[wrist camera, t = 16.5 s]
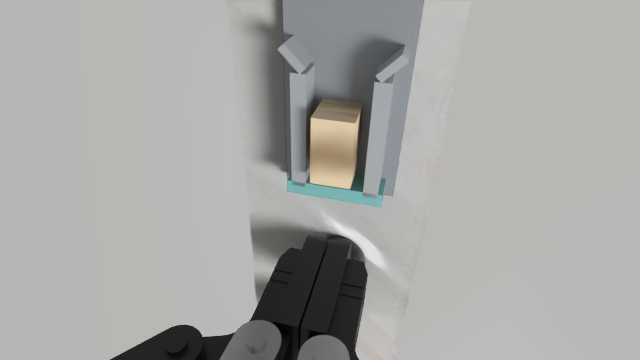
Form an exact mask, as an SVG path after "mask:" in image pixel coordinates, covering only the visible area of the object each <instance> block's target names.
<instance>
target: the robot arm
mask: <svg viewBox="0 0 640 360" xmlns="http://www.w3.org/2000/svg"><path fill="white" fill-rule="evenodd" d="M350 257H351V243H346V242H341V241H335V240H330V241H329V239H324V238H319V237H313V236H308V237H307V239H306V241H305V244H304V246H303V248H302V250H300V249H295V248H290V249H289V250H287V251H286V252H285V253H284V254H283V255H282V256H281V257H280V258H279V260H278V262H277V265H276V267H275V269H274V271H273V273H272V275H271V277H270V281H269V282H268V284H267V286H266V288H265V290H264V293H263V295H262V297H261V299H260V301H259V303H258V305H257V308H256V310H255V312H254V314H253V316H252V318H251V320H250V321H249V322H247V323H245V324H244V325H242V326H241V327H240V328H239V329H238V330H237V331H236V332H235V333H232V334H229V335H223V336H212V337H202V335H201V333H200V332H199V331H198V330H197V329H196V328H194V327H193V326H189V325H178V326H174V327H171V328H169V329H167V330H165V331H163V332H161V333H159V334H158V335H156V336H154V337H152V338H150V339H148V340H146V341H144V342H142V343H141V344H139V345H137V346H135V347H133V348H131V349H129V350H127V351H126V352H124V353H122V354H120V355H118V356H116V357H114V358H112V359H111V360H359V359H358V357H357V355H356V352H355V348H356V342H357V337H358V332H359V327H360V321H361V316H362V311H363V306H364V299H365V291H366V283H367V276H368V274H367V271H366V268H365V264H364V262H362V261H357V260H352V259H350Z"/></svg>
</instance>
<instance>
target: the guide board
mask: <svg viewBox="0 0 640 360" xmlns="http://www.w3.org/2000/svg"><path fill="white" fill-rule="evenodd" d="M423 4H424V0H283V37H284V43H283V44H282V45H281V46H280V47H279V48H278V49H277V50H278V51H279V52H280V53H281V54H282V55H283V57H284V75H285V112H286V149H287V179H288V180H287V192H292V193H298V194H304V195H310V196H316V197H322V198H327V199H333V200H339V201H345V202H351V203H357V204H363V205H369V206H375V207H381V206H382V200H383V195H388V196H393V193H394V187H395V181H396V174H397V168H398V162H399V155H400V149H401V143H402V136H403V130H404V124H405V118H406V111H407V105H408V99H409V92H410V86H411V80H412V73H413V67H414V61H415V54H416V48H417V42H418V35H419V29H420V23H421V17H422V10H423ZM322 99H327V100H336V101H344V102H353V103H361V104H363V111H362V122H361V133H360V144H359V155H358V166H357V169H356V172H355V175H354V178H353V181H352V185H351V188H350V189H344V188H338V187H332V186H325V185H319V184H313V183H310V135H311V117H312V115H313V113H314V112H315V110H316V109H317V107H318V106H319V104H320V102H321V101H322Z"/></svg>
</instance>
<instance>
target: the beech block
mask: <svg viewBox="0 0 640 360" xmlns="http://www.w3.org/2000/svg"><path fill="white" fill-rule="evenodd" d="M362 111H363V104H361V103H353V102H344V101H336V100H327V99H322V101H321V102H320V104H319V106H318V107H317V109H316V110H315V112H314V113H313V115H312V117H311V135H310V183H313V184H319V185H325V186H332V187H338V188H344V189H350V188H351V185H352V181H353V178H354V175H355V172H356V169H357V166H358V155H359V144H360V133H361V122H362Z"/></svg>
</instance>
